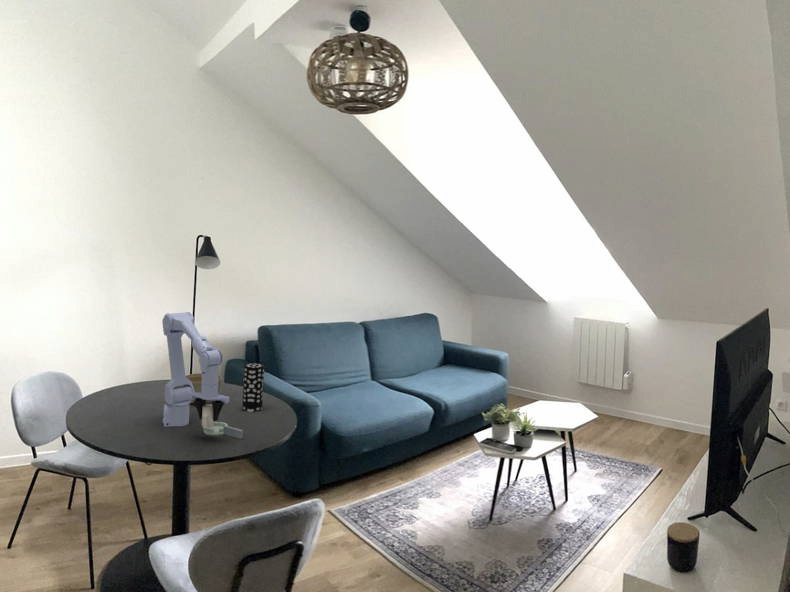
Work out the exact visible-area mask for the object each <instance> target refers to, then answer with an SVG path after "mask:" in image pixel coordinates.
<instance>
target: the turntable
mask: <svg viewBox="0 0 790 592" xmlns="http://www.w3.org/2000/svg"><path fill="white" fill-rule="evenodd" d="M203 433H204V435H207V436H211V437H212V436H213V437H216V436H218V437H219V436H223V435H226V436H228V437H232V438H236V439H239V440H242V439H243V438H244V437H243V436H244V430H243V429H240V428H237V427H232V426H230V425H228V423H226V422H224V421H223V422H222V421H219V422H218V421H216V425H215V426H213V427H207V428H203Z"/></svg>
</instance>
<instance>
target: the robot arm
mask: <svg viewBox="0 0 790 592" xmlns="http://www.w3.org/2000/svg"><path fill="white" fill-rule="evenodd" d="M161 323H162V330H163V335H164V336H166V341H167V349H168V358H169V367H170V377H171V379H170V380H169V381H168V382H167V383H166V384H165V385H164V400H165V402H166V403H165V404H163V418H162V424H163V427H164V428H165V427H166V428H167V427H169V428H170V427H185V426H187V425H189V424H190V423H189V422H190V404H192V403H191V401H192V400H193V399H194V398H195V401H194V404H193V405H194V407H195V409H196V411H197V413H198V417H199V418H198V419H199V420H202V406H203V405H206V400H210V401H213V402H211V404H212V406H213V421H216V422H218V420H219V416H220V414H221V410H222V408H223V406H224V405H225V404H228V403H229V402H230V396H227V395H223V394H220V393H219V392H218V377H219V376H220V375H219V373H220V371H219V370H220V366H221V364H222V363H223V354H222V351H221V350H220V349H219V348H215V347H213V345H212V343H210V342H209V340H208V339H207V338H206V336H204V335H201V334H200V333H199V331H198V329H197V328H196V326H195V318H194V315H193V314H192V313H191V312H190V311H186V312H175V313H174V312H173V313H165V315H164V316H163V318H162V321H161ZM184 334H185V335H186V337H188V338H189V339H190V341H191V348H192V349H193V350H194V352H195V353H196V355H197V356H198V362H199V365H200V371H201V373H202V389H201V392H195V390H194V388H193V385H192V381H190V380H189V379H187V378H186V376H187V375H186V370H185V361H184V353H183V351H184V350H183V342H182V337H183V335H184Z"/></svg>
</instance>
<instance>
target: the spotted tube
mask: <svg viewBox="0 0 790 592" xmlns="http://www.w3.org/2000/svg"><path fill="white" fill-rule="evenodd" d="M264 375H265V365H264V364H263V363H255V362H250V363H245V364H244V365H243V379H242V382H243V383H242V385H243V386H242V404H241V411H242V412H248V413H255V412H260V411H263V398H264V381H265V380H264V379H265V377H264Z"/></svg>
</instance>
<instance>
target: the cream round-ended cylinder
mask: <svg viewBox="0 0 790 592" xmlns="http://www.w3.org/2000/svg"><path fill="white" fill-rule="evenodd" d="M216 422H217V421H213V406H212V403H209V404H205V405H203V406H202V419H201V427H202V428H203V429H204V428H207V427H213V426H215V425H216Z"/></svg>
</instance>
